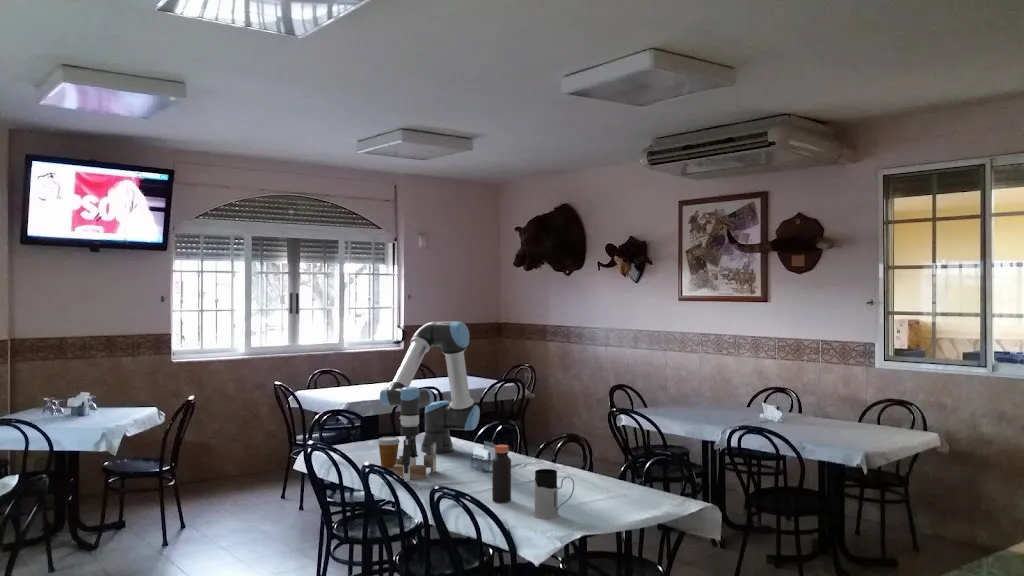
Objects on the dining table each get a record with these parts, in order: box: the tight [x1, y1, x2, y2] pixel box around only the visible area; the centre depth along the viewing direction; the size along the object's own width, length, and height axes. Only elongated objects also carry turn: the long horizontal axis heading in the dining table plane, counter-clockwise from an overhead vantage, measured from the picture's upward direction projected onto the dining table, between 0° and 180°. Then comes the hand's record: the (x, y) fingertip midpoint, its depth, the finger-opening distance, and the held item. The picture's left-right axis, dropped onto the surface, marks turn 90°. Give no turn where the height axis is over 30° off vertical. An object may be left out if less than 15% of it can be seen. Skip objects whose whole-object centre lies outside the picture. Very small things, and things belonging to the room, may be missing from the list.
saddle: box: [396, 455, 403, 465], centre depth 329 cm, size 7×3×6 cm, turn 177°
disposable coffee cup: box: [377, 436, 400, 468], centre depth 341 cm, size 10×10×12 cm
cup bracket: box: [423, 443, 437, 476], centre depth 328 cm, size 8×4×12 cm, turn 177°
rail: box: [392, 464, 427, 480], centre depth 320 cm, size 4×13×5 cm, turn 86°
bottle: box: [491, 444, 512, 504], centre depth 285 cm, size 7×7×20 cm
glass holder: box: [532, 468, 575, 520], centre depth 266 cm, size 9×14×15 cm, turn 73°
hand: (409, 477), depth 320 cm, fingers open, 13 cm apart
